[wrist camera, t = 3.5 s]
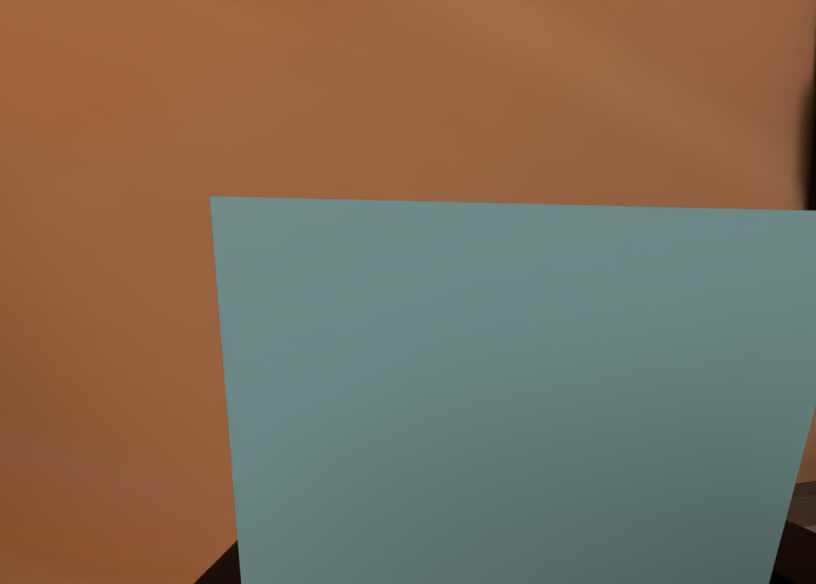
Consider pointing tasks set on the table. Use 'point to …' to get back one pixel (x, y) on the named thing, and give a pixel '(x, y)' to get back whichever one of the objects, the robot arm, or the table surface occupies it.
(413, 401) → the housing
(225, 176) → the table surface
